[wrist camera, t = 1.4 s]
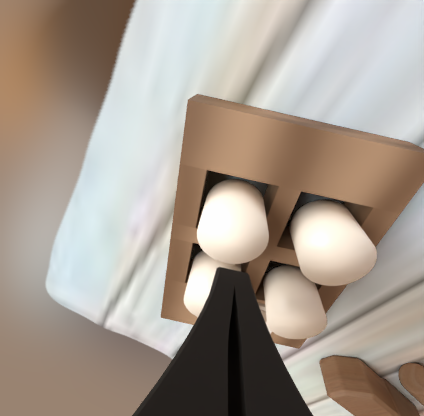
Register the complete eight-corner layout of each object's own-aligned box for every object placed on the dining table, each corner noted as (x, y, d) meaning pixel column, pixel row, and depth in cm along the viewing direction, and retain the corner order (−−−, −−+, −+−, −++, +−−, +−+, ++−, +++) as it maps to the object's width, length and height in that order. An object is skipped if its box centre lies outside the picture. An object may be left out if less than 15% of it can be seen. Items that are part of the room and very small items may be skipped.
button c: (363, 207, 15) (393, 242, 12) (334, 252, 17) (353, 291, 14) (302, 193, 15) (317, 224, 12) (281, 240, 17) (289, 277, 14)
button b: (247, 254, 18) (247, 291, 15) (234, 288, 20) (233, 326, 17) (196, 243, 18) (187, 277, 15) (189, 277, 20) (180, 314, 17)
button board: (408, 142, 15) (449, 160, 12) (293, 320, 26) (300, 353, 23) (197, 94, 15) (186, 100, 12) (168, 292, 26) (159, 322, 23)
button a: (272, 186, 15) (279, 216, 12) (254, 234, 17) (256, 270, 14) (211, 172, 15) (203, 199, 12) (201, 222, 17) (192, 255, 14)
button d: (322, 271, 18) (338, 311, 15) (302, 303, 20) (312, 343, 17) (272, 260, 18) (278, 298, 15) (257, 293, 20) (259, 332, 17)
